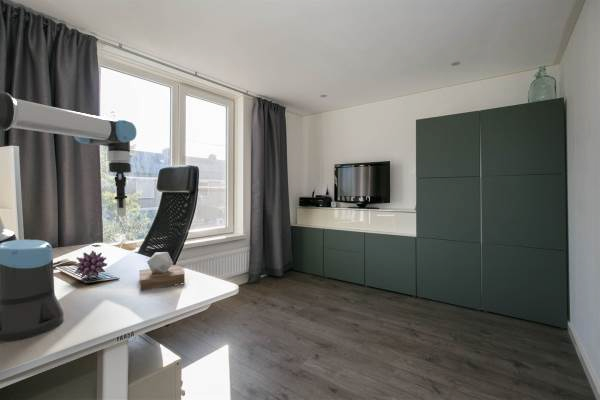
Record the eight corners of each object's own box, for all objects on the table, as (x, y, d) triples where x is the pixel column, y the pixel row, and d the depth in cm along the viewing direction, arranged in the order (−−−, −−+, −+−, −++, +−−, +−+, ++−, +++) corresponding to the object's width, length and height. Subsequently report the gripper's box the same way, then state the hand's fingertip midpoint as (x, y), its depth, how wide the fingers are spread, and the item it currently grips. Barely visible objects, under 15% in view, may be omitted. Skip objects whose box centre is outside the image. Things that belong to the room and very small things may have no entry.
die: (155, 278, 113) (171, 256, 115) (138, 266, 115) (154, 244, 117) (165, 279, 121) (180, 259, 123) (149, 268, 122) (164, 248, 125)
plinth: (184, 283, 116) (184, 273, 116) (140, 291, 109) (140, 280, 109) (179, 274, 129) (178, 265, 129) (139, 279, 122) (139, 270, 122)
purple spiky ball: (108, 282, 125) (73, 283, 116) (100, 275, 133) (67, 275, 124) (114, 254, 125) (79, 253, 117) (106, 249, 134) (73, 248, 125)
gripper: (130, 160, 111) (132, 217, 112) (130, 164, 133) (132, 212, 134) (106, 159, 107) (109, 218, 108) (110, 164, 129) (112, 213, 130)
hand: (121, 215), depth 121 cm, fingers open, 13 cm apart
